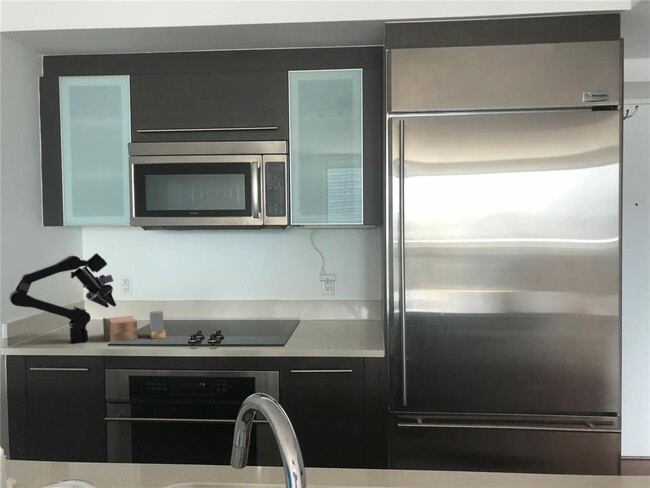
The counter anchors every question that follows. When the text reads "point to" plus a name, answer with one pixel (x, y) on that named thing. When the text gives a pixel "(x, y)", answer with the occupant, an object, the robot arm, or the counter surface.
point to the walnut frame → (119, 330)
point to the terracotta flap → (121, 319)
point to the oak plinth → (157, 334)
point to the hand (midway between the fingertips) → (111, 306)
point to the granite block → (156, 321)
